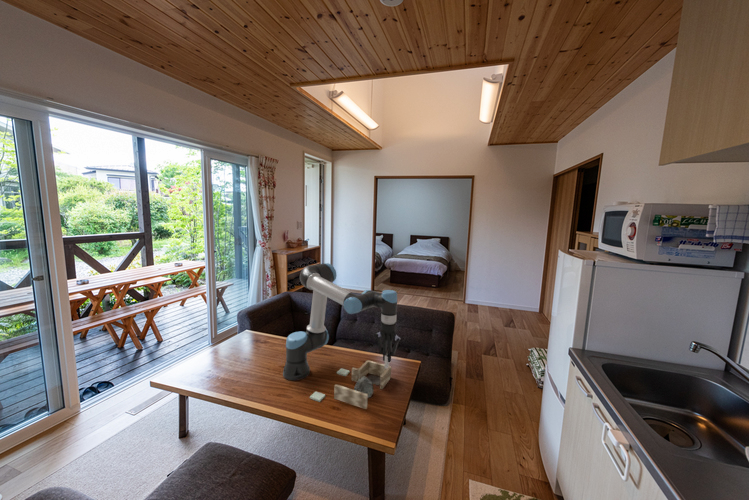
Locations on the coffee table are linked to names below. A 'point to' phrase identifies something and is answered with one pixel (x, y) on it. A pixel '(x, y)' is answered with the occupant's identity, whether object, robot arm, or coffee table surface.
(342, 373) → the pad
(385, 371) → the wooden wall enclosure
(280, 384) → the coffee table surface
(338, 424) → the coffee table surface
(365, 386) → the stone
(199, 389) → the coffee table surface
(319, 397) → the pad
